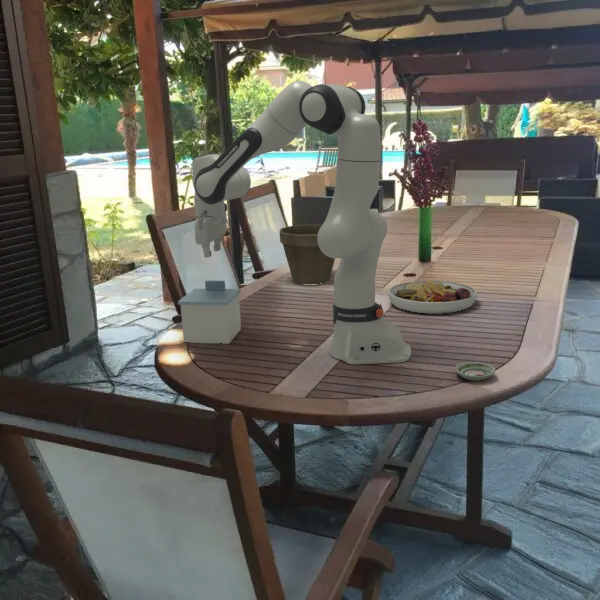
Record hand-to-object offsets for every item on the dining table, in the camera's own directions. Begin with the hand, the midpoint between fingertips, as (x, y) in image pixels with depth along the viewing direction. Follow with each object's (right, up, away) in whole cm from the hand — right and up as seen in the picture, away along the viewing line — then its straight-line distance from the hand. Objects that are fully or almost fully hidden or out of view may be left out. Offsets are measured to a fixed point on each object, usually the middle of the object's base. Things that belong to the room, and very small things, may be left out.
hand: (212, 253), depth 197 cm
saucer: (+70, -34, -38) cm, 86 cm away
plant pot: (+32, -7, +64) cm, 72 cm away
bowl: (+73, -16, +27) cm, 79 cm away
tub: (0, -25, +1) cm, 25 cm away
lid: (0, -14, -2) cm, 14 cm away
